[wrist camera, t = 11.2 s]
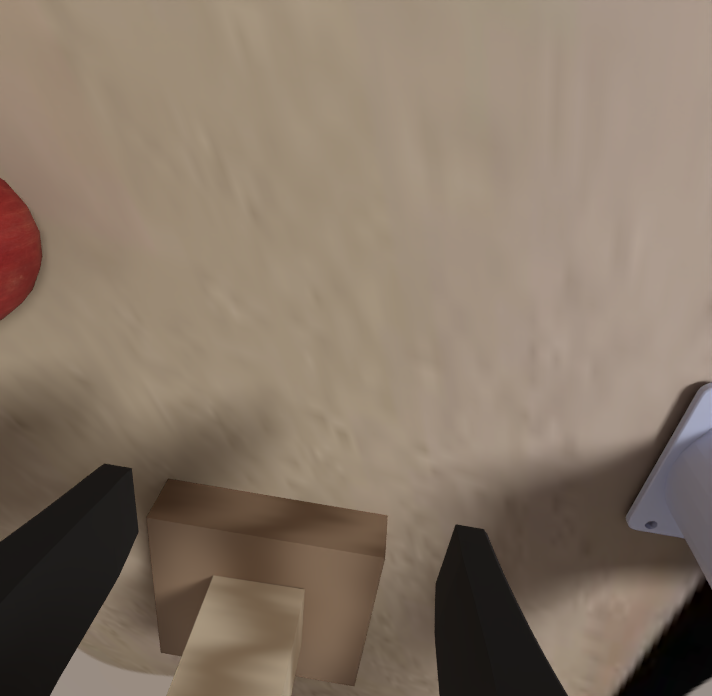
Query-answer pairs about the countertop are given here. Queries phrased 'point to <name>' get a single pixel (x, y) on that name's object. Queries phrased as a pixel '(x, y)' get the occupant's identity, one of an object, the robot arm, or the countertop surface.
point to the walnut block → (269, 566)
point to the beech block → (242, 641)
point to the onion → (16, 250)
